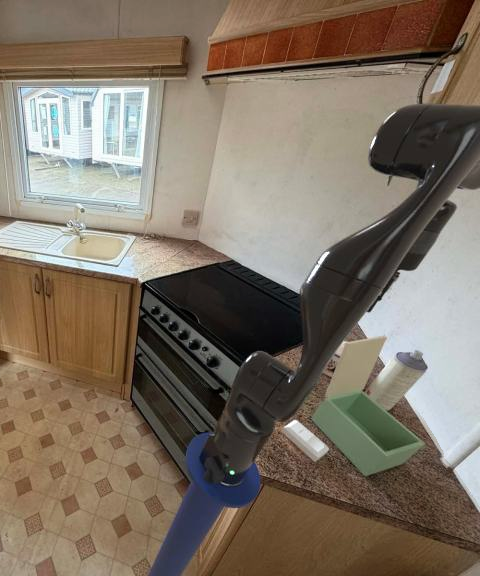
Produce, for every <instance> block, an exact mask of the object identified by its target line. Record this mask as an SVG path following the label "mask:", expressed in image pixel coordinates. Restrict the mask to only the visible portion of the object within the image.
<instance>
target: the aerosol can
mask: <svg viewBox="0 0 480 576" xmlns="http://www.w3.org/2000/svg"><path fill="white" fill-rule="evenodd" d="M423 356H424V353H423V352H422V351H420V350H416V349H415V350H414V351H413V352H412V351H411V352H409V351H408V352H407V351H406V352H404V351H400V352H399V351H398V352H396V354H394V355H393V356H392V358H391V359H390V360H389V361H388V362H387V364H385V366H384V367H383V369H382V370H381V371H380V372H379V373H378V375H377V376H376V377H375V378H374V380H373V381H372V382H371V383H370V384H369V386H367V388H366V389H365V391H363V392H364V393H366V394H367V395H368V396H369V397H370V398H372V399H373V400H374V401H375V402H376V403H377V404H379V405H380V406H381V407H382V408H383V409H385V410H386V411H387V412H390V411H391V410H392V409H393V408H394V407H395V405H397V404H398V402H399V401H401V399H402V398H403V397H404V396H405V395H406V393H408V392H409V390H411V388H413V386H414V385H415V384H416V383H417V382H419V380H420V379H421V378H422V377H423V375H424V374H425V373H426V372H427V370H428V368H429V367H428V364H427V363H426V361H425V360H424V358H423Z"/></svg>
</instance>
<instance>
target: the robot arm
mask: <svg viewBox="0 0 480 576" xmlns="http://www.w3.org/2000/svg"><path fill="white" fill-rule="evenodd" d="M367 163H368V166H369V167H370V169H371V170H373V171H374V172H376V173H379V174H381V175H384V176H389V177H395V178H401V179H406V180H412V181H416V185H415V188H414V190H413V191H412V192H411V193H410V194H409V195H408V196H407V197H406V198H405V199H403V201H401V202H400V203H399V204H397V206H396V207H394V208H393V209H392V210H391V211H389V212H388V213H386V214H384V215H382V216H381V217H380V218H379V219H376V220H375V221H374V222H373V221H372V223H370V224H368V225H366V226H364V227H362V228H360V229H359V230H357V231H355V232H353V233H351V234H349V235H347V236H345V237H344V238H342V239H340V240H338V241H337V242H335V243H334V244H332V245H330V246H328V247H327V248H326V249H324V251H323V252H322V253H321V254H320V255H319V256H318V257H317V260H316V261H315V263H314V264H313V266H312V267H311V269H310V271H309V272H308V274H307V275H306V277H305V279H304V281H303V282H302V284H301V286H300V288H299V292H298V293H299V294H298V295H299V296H298V304H299V305H298V306H299V316H300V321H301V323H300V324H301V330H302V331H301V332H302V346H301V347H302V348H301V355H300V360H299V363H298V365H297V368H296V370H295V369H293V368H292V367H290V366H289V365H287V364H286V363H284V362H282V361H281V360H279V359H277V358H276V357H274V356H273V355H271V354H269V353H268V352H265V351H263V350H257V351H254V352H252V353H250V354H249V355H248V356H247V357H246V358H245V359H244V361H243V362H242V363H241V365H240V366H239V368H238V370H237V373H236V375H235V377H234V380H233V383H232V385H231V388H230V391H229V394H228V397H227V399H226V401H225V404H224V408H223V410H222V412H221V415H220V416H219V419H218V421H217V423H216V424H215V427H214V429H213V432H212V433H213V434H209V436H208V438H207V440H206V442H205V445H204V447H203V449H202V451H201V454H200V456H199V459H200V461H201V463H202V465H203V466H204V469H205V471H206V473H205V475H204V480H205V482H206V483H207V484H210V483H211V481H212V483H213V484H217V483H218V484H220V485H223V486H226V487H235V486H238V485H239V484H241V482H242V481H243V479H244V477H245V475H246V474H247V472H248V470H249V469H250V467H251V466H252V464H253V463H254V461H255V462H256V459H257V458H258V457H259V454H260V453H261V451H262V450H263V449H264V447H265V446H266V444H267V443H268V441H269V440H270V438H271V436H272V434H273V433H274V431H275V428H276V422H279V423H286V422H288V421H290V420H291V419H293V418H294V417H295V416H296V414H297V413H298V412H299V411H300V410H301V409H302V408H303V406H304V404H305V403H306V401H307V399H308V398H309V397H310V395H311V393H312V392H313V390H314V389H315V387H316V385H317V384H318V382H319V380H320V379H321V377H322V375H323V374H324V373H323V372H324V370H325V369H326V367H327V365H328V364H329V362H330V361H331V359H332V357H333V356H334V354H335V353H336V351H337V350H338V348H339V347H340V346H341V344H342V343H343V342H344V341H346V339H347V338H348V337H349V336H350V334H351V333H352V331H353V330H354V328H356V326H357V325H358V324H359V322H360V321H361V320H362V318H363V317H364V316H365V315H366V313H371V312H372V311H373V309H374V308H375V306H376V305H377V303H379V302H380V301H382V300H383V297H384V296H385V294H386V293H388V292H389V291H390V290H391V288H392V286H393V285H394V284H395V283H396V282H397V281H398V280H399V278H400V275H401V272H400V271H404V272H412V271H415V270H417V269H418V267H419V266H420V265H421V264H422V262H423V260H424V259H425V257H426V256H427V255H428V253H429V252H430V251H431V249H432V248H433V246H434V245H435V243H436V242H437V240H438V238H439V236H440V234H441V232H442V230H444V228H445V227H446V226H447V224H449V223H448V222H449V221H450V220H451V219H452V217H453V216H454V215H455V213H456V211H457V208H458V206H457V204H456V203H455V202H454V201H451V200H450V199H449V198H451V196H452V194H453V193H454V192H455V191H456V190H462V191H475V190H479V189H480V165H476V164H479V163H480V104H449V103H448V104H447V103H443V104H442V103H415V104H408V105H405V106H402V107H400V108H398V109H396V110H395V111H393V112H392V113H390V114H389V115H388V116H387V117H386V118H385V119H384V121H382V123H381V124H380V126H379V127H378V129H377V131H375V134H374V135H373V138H372V140H371V143H370V144H369V149H368V152H367ZM209 477H210V479H211V481H210V480H209V479H208V478H209Z"/></svg>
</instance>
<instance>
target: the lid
mask: <svg viewBox="0 0 480 576" xmlns="http://www.w3.org/2000/svg"><path fill="white" fill-rule="evenodd" d="M387 338H388V337H387V336H385V335H379V336H374V337H368V338H364V339H357V340H351V341H347V342H346V344H345V346H344V349H343V351H342V354H341V356H340V359H339V361H338V364H337V366H336V369H335V371H334V374H333V377H331V379H330V382H329V384H328V387H327V389H326V392H325V395H324V396H325V398H329V397H333V396H338V395H342V394H346V393H351V392H355V391H359V390H362V391H363V390H364V389H365V387H366V385H367V383H368V381H369V378H370V376H371V374H372V371H373V369H374V367H375V365H376V363H377V361H378V358H379V356H380V354H381V352H382V349H383V348H384V345H385V343H386V341H387Z"/></svg>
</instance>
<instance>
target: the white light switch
mask: <svg viewBox="0 0 480 576" xmlns="http://www.w3.org/2000/svg"><path fill="white" fill-rule="evenodd" d="M280 432H281V433H282V434H283V435H284V436H286V438H288V439H289V440H290V441H291V442H292V443H293V444H294V445H295V446H296V447H298V448H299V449H300V450H301V451H302V452H303V453H304V454H305V455H306V456H308V458H309V459H311V461H313V462H314V463H316V462H317V461H319V460H320V459H321V458H322V457H324V456H325V455H326V454H327V453H328V452H329V451H330V448H329V447H328V446H327V444H326V443H324V441H322V440H321V439H319V438H318V437H317V436H316V435H315V434H313V433H312V432H311V431H310V430H309V429H308V428H306V426H304V424H302V423H301V422H300V421H298V420H296V419H293V420H292V421H290V422H288V423H287V424H286V425H285V426H283V427H282V429H281V430H280Z"/></svg>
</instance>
